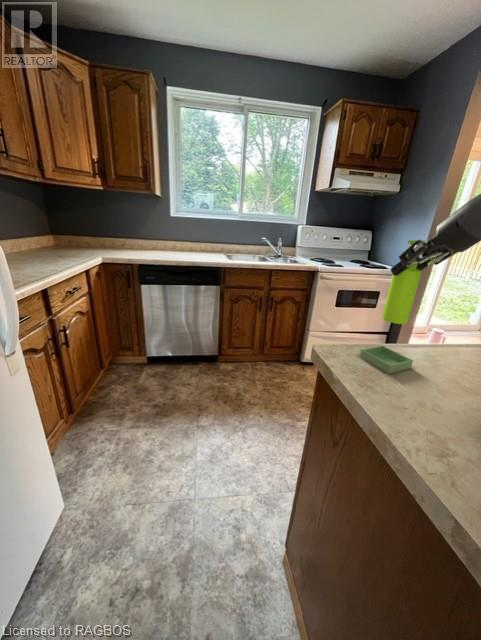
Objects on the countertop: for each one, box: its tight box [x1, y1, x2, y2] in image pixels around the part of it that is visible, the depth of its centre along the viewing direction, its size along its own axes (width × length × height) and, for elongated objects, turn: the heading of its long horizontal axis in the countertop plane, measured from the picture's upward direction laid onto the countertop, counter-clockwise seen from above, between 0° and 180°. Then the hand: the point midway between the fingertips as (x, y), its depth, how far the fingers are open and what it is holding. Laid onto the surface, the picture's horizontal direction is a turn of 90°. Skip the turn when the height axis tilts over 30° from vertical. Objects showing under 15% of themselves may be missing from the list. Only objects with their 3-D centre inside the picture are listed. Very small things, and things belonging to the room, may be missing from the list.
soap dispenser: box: [381, 239, 426, 325], centre depth 67 cm, size 6×7×20 cm
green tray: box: [359, 345, 414, 374], centre depth 74 cm, size 10×8×2 cm
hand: (402, 272), depth 67 cm, fingers closed on soap dispenser, 6 cm apart
